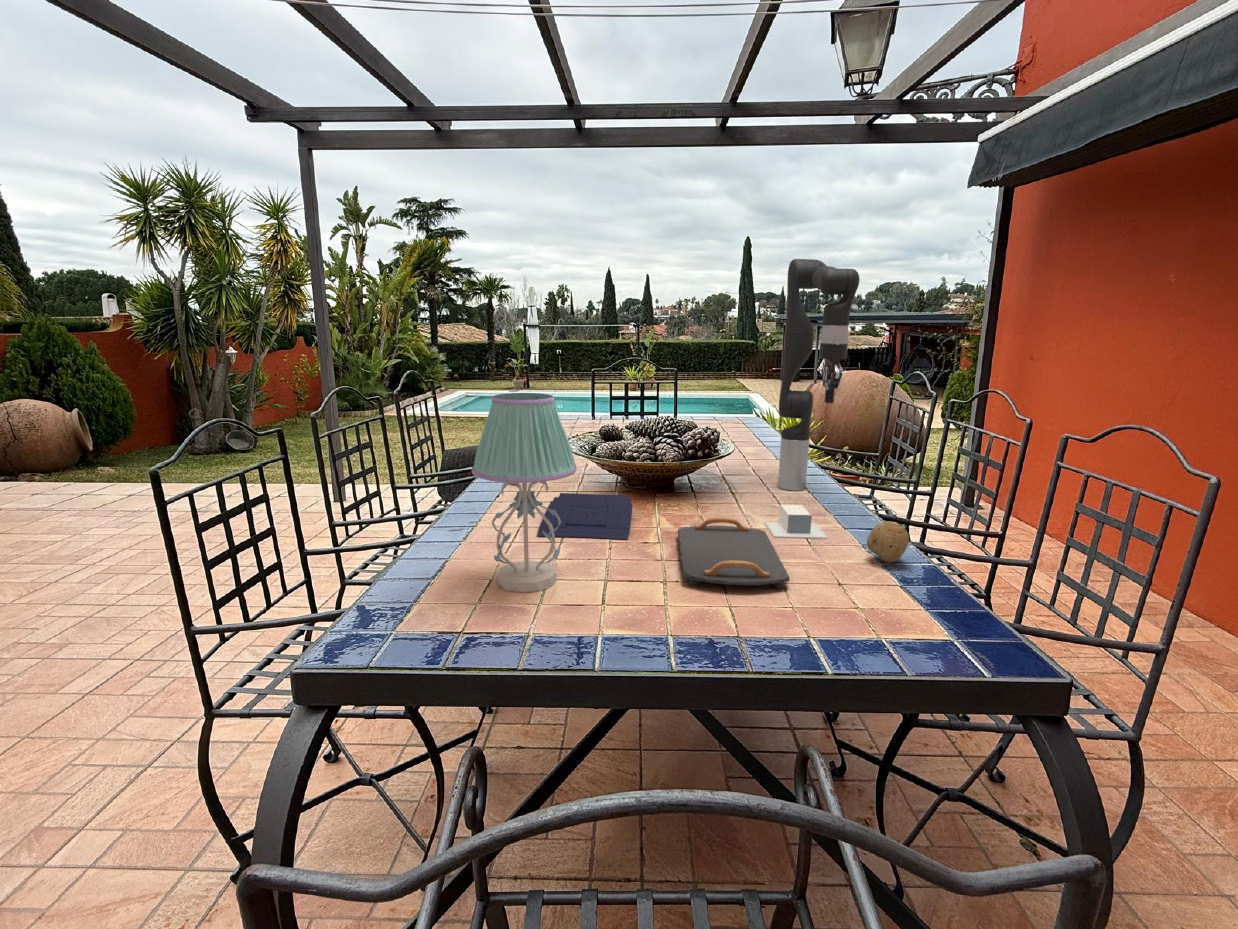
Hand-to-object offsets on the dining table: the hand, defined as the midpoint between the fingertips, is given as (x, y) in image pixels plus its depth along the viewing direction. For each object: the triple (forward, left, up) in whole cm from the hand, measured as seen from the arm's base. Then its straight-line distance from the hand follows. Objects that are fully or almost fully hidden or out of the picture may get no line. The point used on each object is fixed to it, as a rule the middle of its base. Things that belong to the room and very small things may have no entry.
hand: (828, 402), depth 185 cm
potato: (+41, +4, -33) cm, 53 cm away
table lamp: (+57, -79, -33) cm, 103 cm away
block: (+12, -12, -30) cm, 34 cm away
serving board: (+42, -34, -34) cm, 63 cm away
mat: (+19, -12, -33) cm, 40 cm away
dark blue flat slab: (+14, -69, -33) cm, 78 cm away
